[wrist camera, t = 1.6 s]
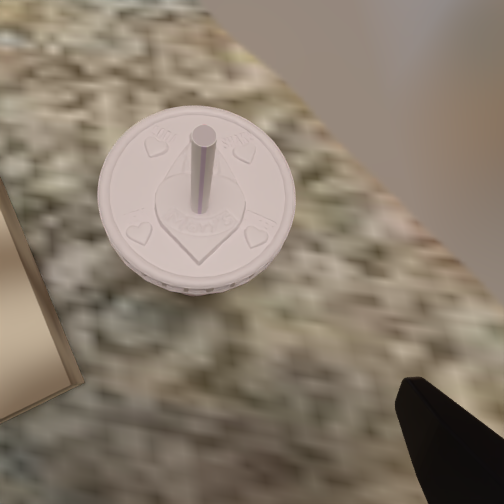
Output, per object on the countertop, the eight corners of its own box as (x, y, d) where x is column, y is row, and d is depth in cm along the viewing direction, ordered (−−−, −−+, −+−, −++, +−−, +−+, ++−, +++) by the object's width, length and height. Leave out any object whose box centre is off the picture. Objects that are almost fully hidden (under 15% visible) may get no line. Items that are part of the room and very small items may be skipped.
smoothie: (129, 321, 21) (32, 248, 8) (137, 203, 23) (66, -21, 10) (255, 322, 22) (354, 257, 9) (254, 208, 24) (336, 9, 11)
